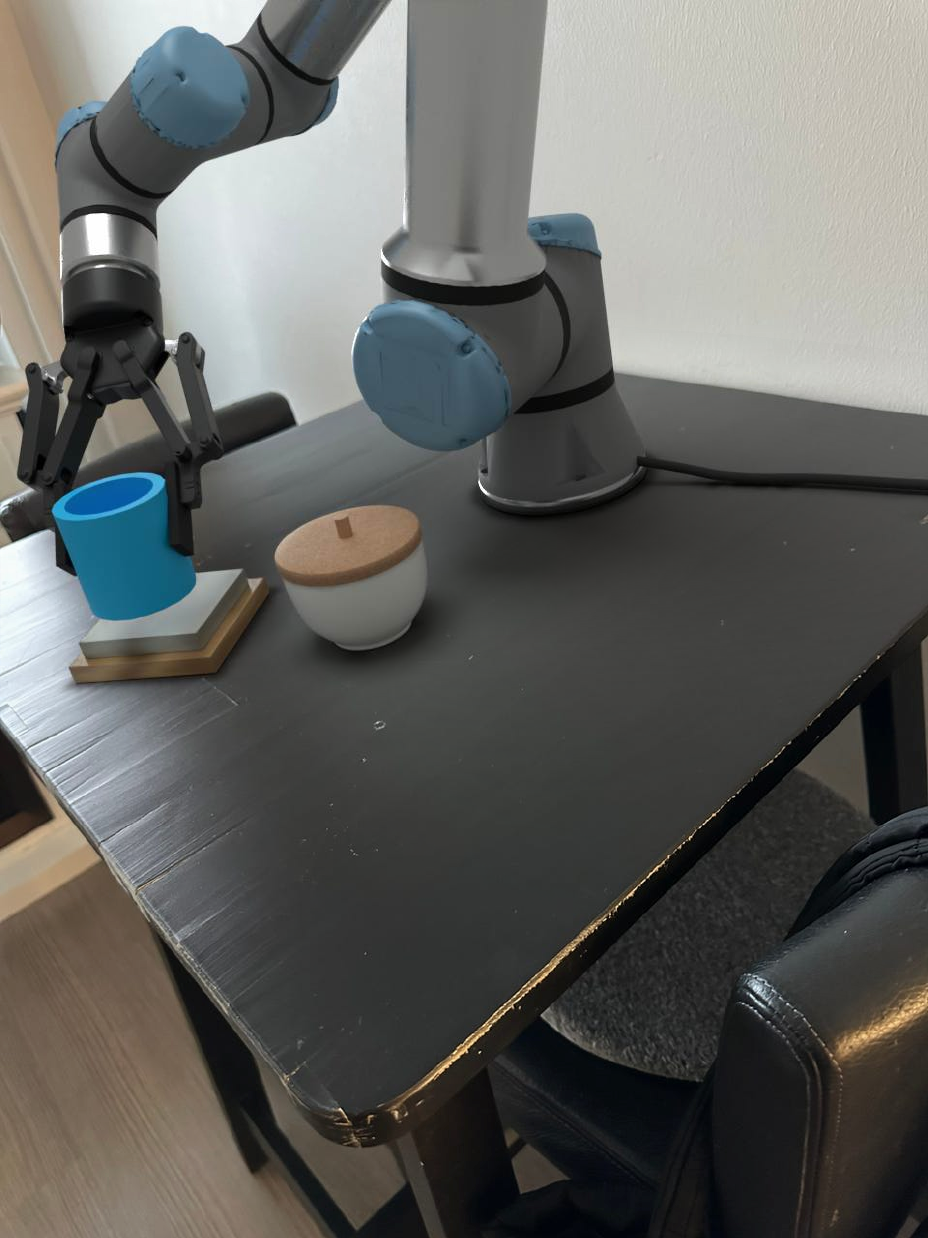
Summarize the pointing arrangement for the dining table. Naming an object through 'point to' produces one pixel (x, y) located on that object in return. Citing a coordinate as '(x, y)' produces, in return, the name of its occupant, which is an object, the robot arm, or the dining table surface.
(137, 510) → the mug
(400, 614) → the trinket box
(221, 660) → the pad stack
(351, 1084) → the dining table surface
